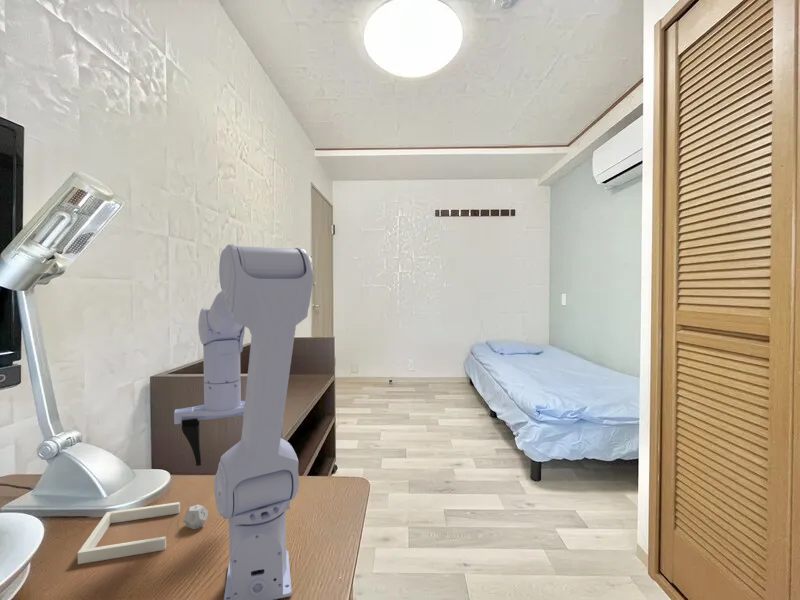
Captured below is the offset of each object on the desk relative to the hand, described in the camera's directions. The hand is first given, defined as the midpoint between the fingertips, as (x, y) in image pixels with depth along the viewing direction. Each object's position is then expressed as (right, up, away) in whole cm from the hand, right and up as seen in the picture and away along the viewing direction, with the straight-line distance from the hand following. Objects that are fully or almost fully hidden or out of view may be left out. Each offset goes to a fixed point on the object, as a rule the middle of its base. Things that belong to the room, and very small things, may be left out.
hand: (223, 459), depth 74 cm
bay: (-12, -10, -5) cm, 16 cm away
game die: (-3, -10, -2) cm, 11 cm away
